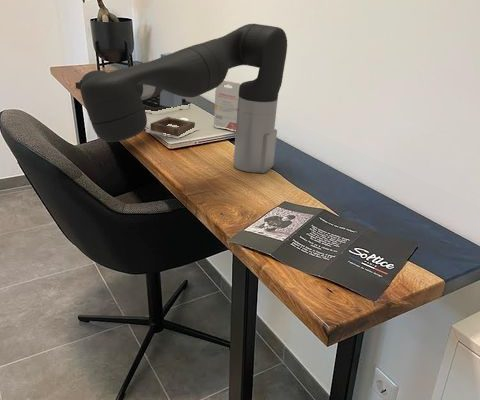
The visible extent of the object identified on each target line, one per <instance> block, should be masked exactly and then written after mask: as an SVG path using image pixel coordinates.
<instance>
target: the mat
mask: <svg viewBox="0 0 480 400" xmlns="http://www.w3.org/2000/svg"><path fill="white" fill-rule="evenodd" d="M144 132H145V133H148V134H152V135H157V136H160V135H165V134H163V133H161V132H156V131H152V130H151V128H149V129H146V130H145V131H144ZM158 134H159V135H158ZM166 136H170V137H173V138H172V139H174V138H177V139H176V140H180V139H179V138H180V137H179V136H174V135H167V134H166Z"/></svg>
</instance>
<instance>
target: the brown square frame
mask: <svg viewBox="0 0 480 400" xmlns="http://www.w3.org/2000/svg"><path fill="white" fill-rule="evenodd" d="M168 124H172V125H177V126H179V127H172V126H167V125H168ZM194 127H195V128H196V123H195V122H194V121H191V120H186V119H185V120H184V119H182V118H175V117H170V116H167V117H164V118H162V119H159V120H156V121H153V122H151V123H150V129H151V130H152V131H156V132H161V133H166V134H170V135H174V136H180V135H181V134H183V133H185V132H186V131H188V130H190V129H192V128H194Z"/></svg>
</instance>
